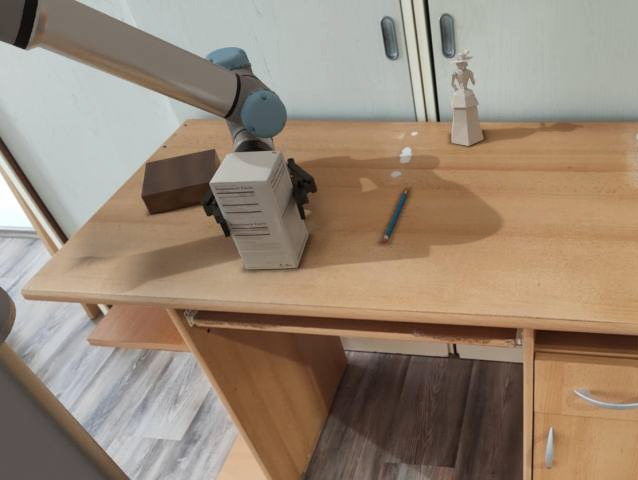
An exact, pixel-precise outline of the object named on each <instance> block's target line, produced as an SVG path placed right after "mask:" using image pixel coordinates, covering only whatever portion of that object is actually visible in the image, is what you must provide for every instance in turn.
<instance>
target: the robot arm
mask: <svg viewBox="0 0 638 480" xmlns="http://www.w3.org/2000/svg"><path fill="white" fill-rule="evenodd" d="M0 42H2V43H5V44H7V45H10V46H13V47H15V48H18V49H21V50H24V51H30V50H33V49H36V48H40V49H43V50H46V51H48V52H51V53H53V54H56V55H58V56H61V57H64V58H66V59H69V60H71V61H74V62H77V63H79V64H81V65H85V66H87V67H89V68H92V69H95V70H98V71H100V72H103V73H106V74H108V75H110V76H114V77H116V78H118V79H121V80H124V81H126V82H129V83H131V84H134V85H137V86H139V87H142V88H143V89H147V90H150V91H152V92H154V93H158V94H160V95H163V96H165V97H168V98H171V99H173V100H175V101H178V102H180V103H183V104H186V105H189V106H191V107H194V108H196V109H199V110H202V111H204V112H206V113H210V114H211V115H215V116H217V117H219V118H222V119H224V120H225V122H226V125H227V128H228V131H229V132H230V137H231V140H232V150H233V151H232V153H234V152H257V151H276V147H275V143H274V137H276V136H278V135H280V133H281V132H282V131H283V130H284V128H285V126H286V124H287V121H288V112H287V108H286V106H285V103H284V102H283V101H282V99H281V98H280V96H279V94H277V93H276V92H275V91H274V90H272V89H271V88H270V87H268V86H267V85H266V84H265V83H264V82H263V81H262V80H261V79H260V78H258V77H257V76H256V75H255V74H254V72H253V69H252V63H251V62H250V60H249V58H248V55H247V52H246V51H245V50H244V49H242V48H241V47H238V46H237V47H236V46H229V47H222V48H217V49H215V50H212V51H211V52H209V53H208V54H207V55H206V56H205V58H204V57H201V56H200V55H197V54H195V53H193V52H191V51H189V50H186V49H184V48H182V47H180V46H178V45H176V44H173V43H171V42H169V41H167V40H165V39H162V38H160V37H159V36H155V35H153V34H151V33H149V32H146V31H144V30H142V29H140V28H137V27H135V26H134V25H131V24H129V23H127V22H124V21H122V20H121V19H118V18H115V17H113V16H111V15H109V14H107V13H105V12H102V11H100V10H98V9H95V8H93V7H91V6H89V5H87V4H84V3H82V2H80V1H78V0H0ZM285 163H286V166H287V169H288V172H289V175H290V179H291V182H292V185H293V190H294V195H295V199H296V204H297V208H298V211H299V214H300V217H301V220H307V217H306V213H305V208H304V206H305V205H308V204H310V200H309V195H308V194H310V193H311V194H315V193H318V187H317V184H316V181H315V177H314V176H312V175H311V174H310V173H309V172H307V171H306V170H304V169H303V168H302V167H301V166H300V165H298V164H297V163H296V162H295V159H294V158H293V157H290V158H287V160H286V162H285ZM200 204H201V206H202V209H203V211H204V213H205V215H206V217H213V218H214V220H215V222H216V224H217V225H220V228H221V230H222V232H223V234H224V237H225V238H229V237H232V235H231V233H230V231H229V228H228V226H227V224H226V221H225V219H224V217H223V215H222V212H221V210H220V208H219V205H218V203H217V201H216V199H215V196H214V194H213V192H212V190H211V188H210V189H209V191H208V192H207V194H206V195H205V197H204V198H203V200H202V201H201V203H200Z"/></svg>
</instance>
